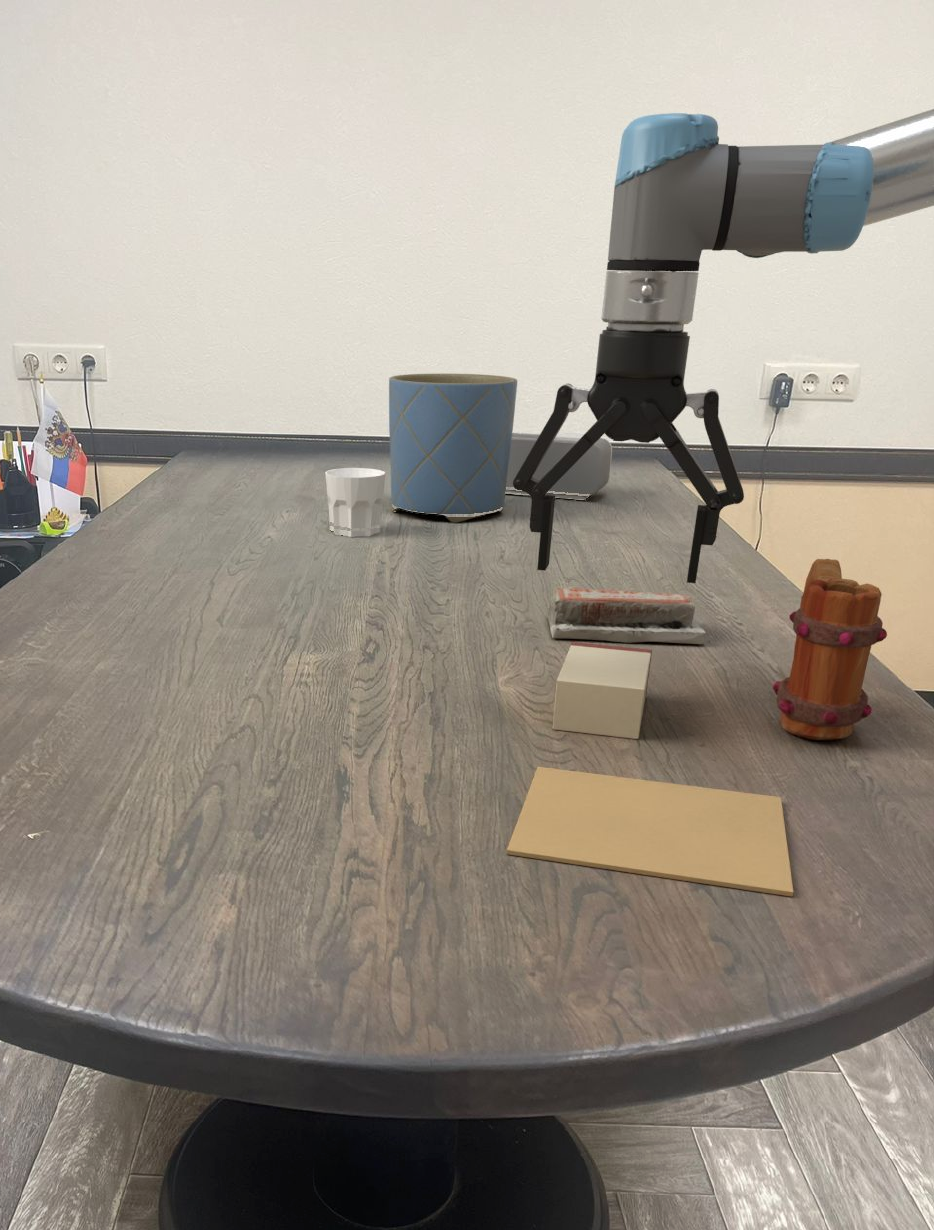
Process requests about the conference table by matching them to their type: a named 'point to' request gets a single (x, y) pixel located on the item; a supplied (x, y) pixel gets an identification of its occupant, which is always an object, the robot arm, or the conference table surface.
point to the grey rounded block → (579, 478)
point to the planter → (450, 442)
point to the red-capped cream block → (602, 690)
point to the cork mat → (655, 830)
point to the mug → (830, 655)
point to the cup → (355, 499)
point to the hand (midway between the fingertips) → (615, 573)
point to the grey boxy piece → (623, 616)
